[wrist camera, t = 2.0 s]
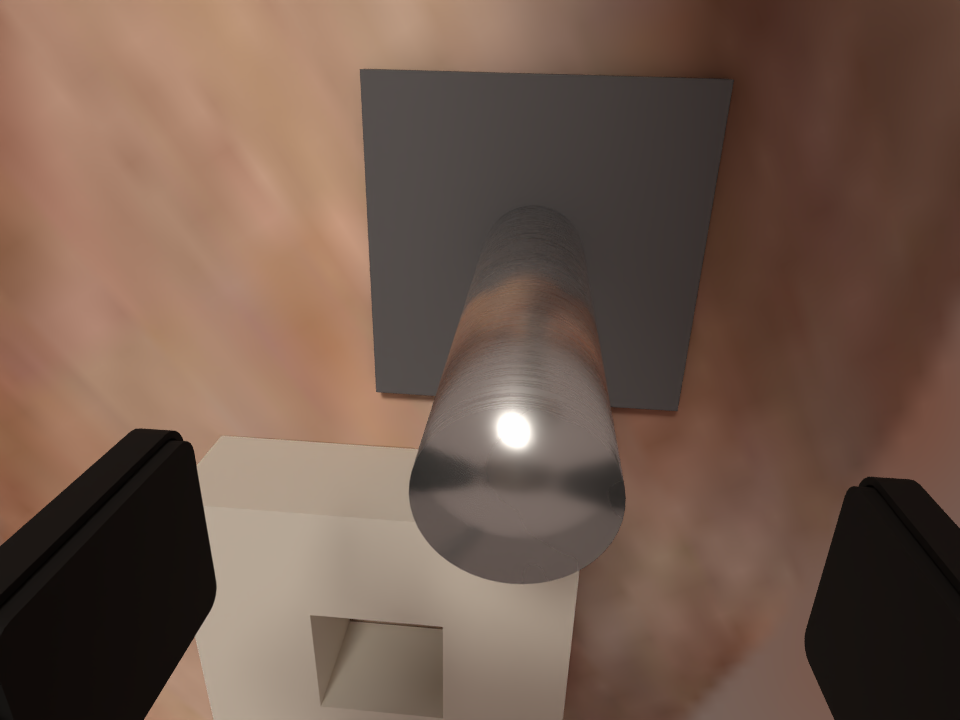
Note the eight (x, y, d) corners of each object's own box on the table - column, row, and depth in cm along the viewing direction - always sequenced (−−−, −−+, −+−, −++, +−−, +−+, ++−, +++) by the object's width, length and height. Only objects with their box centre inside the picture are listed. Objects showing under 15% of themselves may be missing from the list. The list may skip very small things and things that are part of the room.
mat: (364, 68, 19) (359, 69, 18) (729, 78, 18) (733, 79, 18) (379, 385, 23) (376, 391, 23) (674, 403, 22) (677, 411, 22)
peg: (484, 203, 20) (405, 400, 9) (587, 207, 19) (638, 415, 9) (481, 299, 21) (411, 575, 10) (578, 304, 21) (613, 592, 10)
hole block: (221, 435, 25) (165, 502, 21) (578, 460, 24) (583, 535, 20) (263, 682, 30) (224, 769, 27) (552, 710, 29) (553, 804, 26)
